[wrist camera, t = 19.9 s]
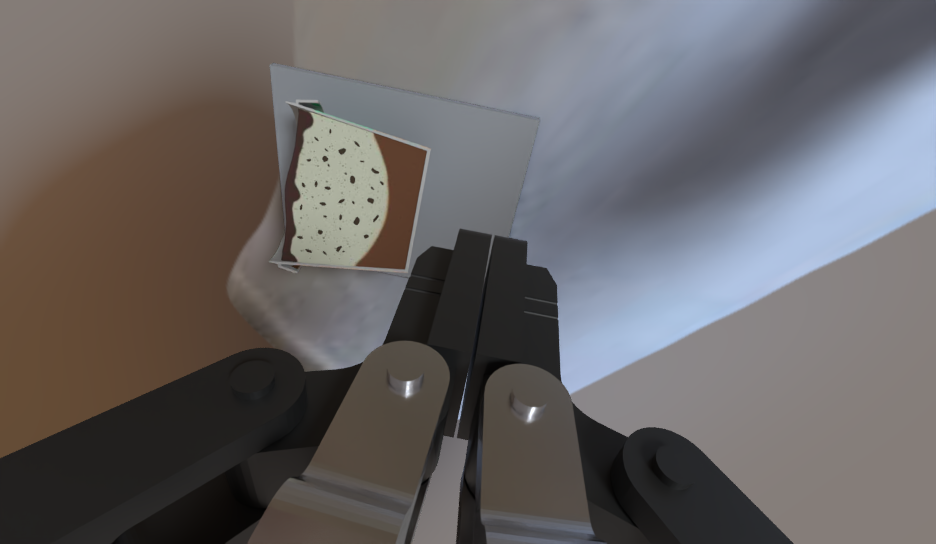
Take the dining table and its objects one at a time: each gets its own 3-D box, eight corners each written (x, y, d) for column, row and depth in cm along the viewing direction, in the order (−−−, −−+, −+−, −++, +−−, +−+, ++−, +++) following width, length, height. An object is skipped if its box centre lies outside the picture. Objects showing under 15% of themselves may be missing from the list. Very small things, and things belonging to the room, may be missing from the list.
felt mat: (539, 118, 34) (539, 120, 33) (493, 290, 44) (493, 294, 44) (273, 62, 33) (269, 64, 33) (289, 249, 44) (287, 253, 43)
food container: (431, 127, 38) (306, 99, 36) (435, 126, 32) (286, 92, 30) (405, 269, 41) (289, 248, 39) (404, 291, 35) (268, 268, 33)
